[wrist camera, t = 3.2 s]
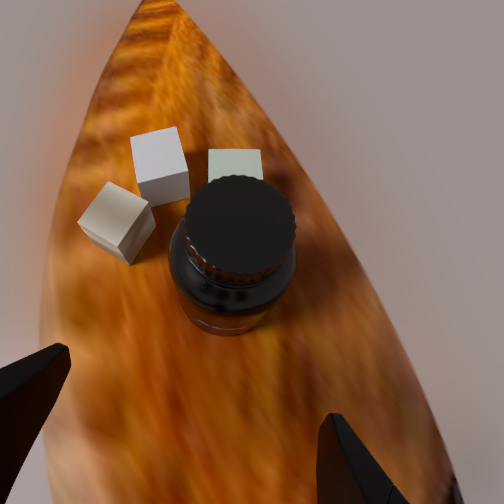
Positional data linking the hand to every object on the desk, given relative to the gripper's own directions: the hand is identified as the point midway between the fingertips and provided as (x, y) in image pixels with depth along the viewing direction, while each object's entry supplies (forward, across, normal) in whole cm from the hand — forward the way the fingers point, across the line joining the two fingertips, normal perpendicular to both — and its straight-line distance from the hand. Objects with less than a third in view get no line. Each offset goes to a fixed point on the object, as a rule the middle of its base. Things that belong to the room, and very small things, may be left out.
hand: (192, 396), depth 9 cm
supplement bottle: (+14, 0, +4) cm, 15 cm away
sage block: (+20, +2, -1) cm, 20 cm away
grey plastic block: (+20, +8, -2) cm, 22 cm away
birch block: (+16, +9, +3) cm, 19 cm away
